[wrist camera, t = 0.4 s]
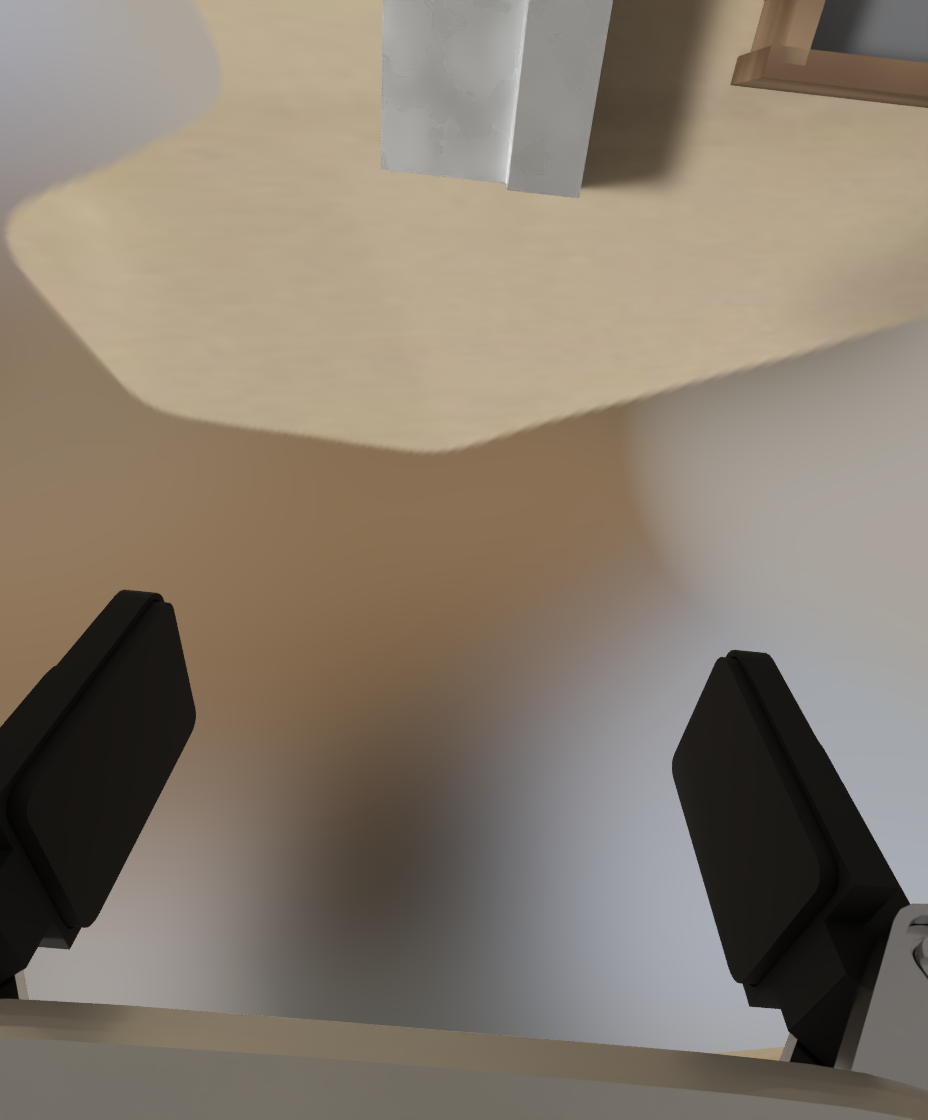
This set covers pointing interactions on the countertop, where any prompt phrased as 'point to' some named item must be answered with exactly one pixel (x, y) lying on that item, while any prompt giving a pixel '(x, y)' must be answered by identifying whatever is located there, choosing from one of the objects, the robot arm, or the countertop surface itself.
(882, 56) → the slate mat
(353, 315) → the countertop surface
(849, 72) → the walnut corner walls
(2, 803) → the robot arm
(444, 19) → the aluminium bracket
